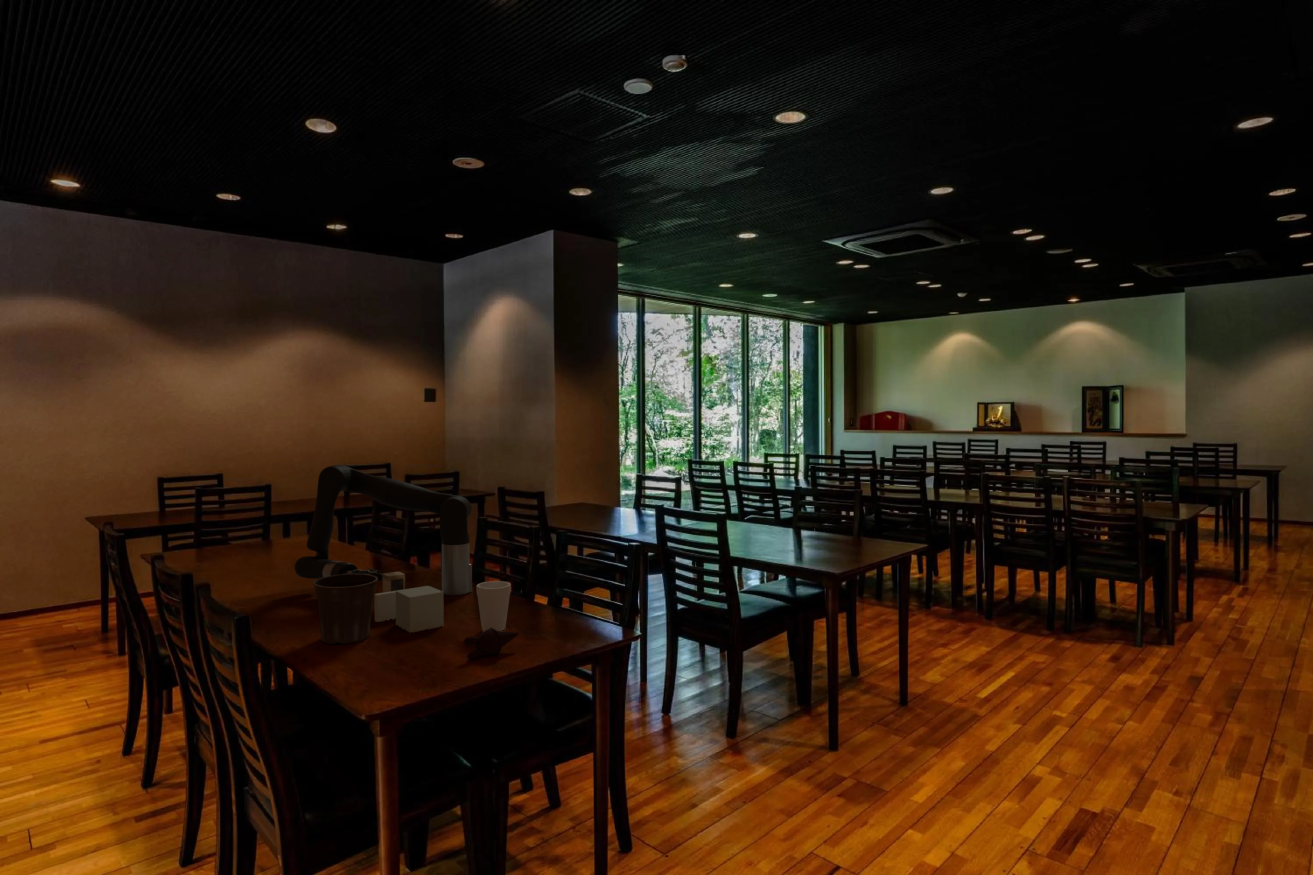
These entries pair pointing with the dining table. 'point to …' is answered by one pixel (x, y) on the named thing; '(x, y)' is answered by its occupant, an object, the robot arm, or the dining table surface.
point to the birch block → (393, 581)
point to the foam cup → (493, 604)
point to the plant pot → (345, 607)
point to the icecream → (489, 642)
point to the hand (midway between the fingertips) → (370, 579)
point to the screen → (385, 606)
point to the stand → (419, 608)
